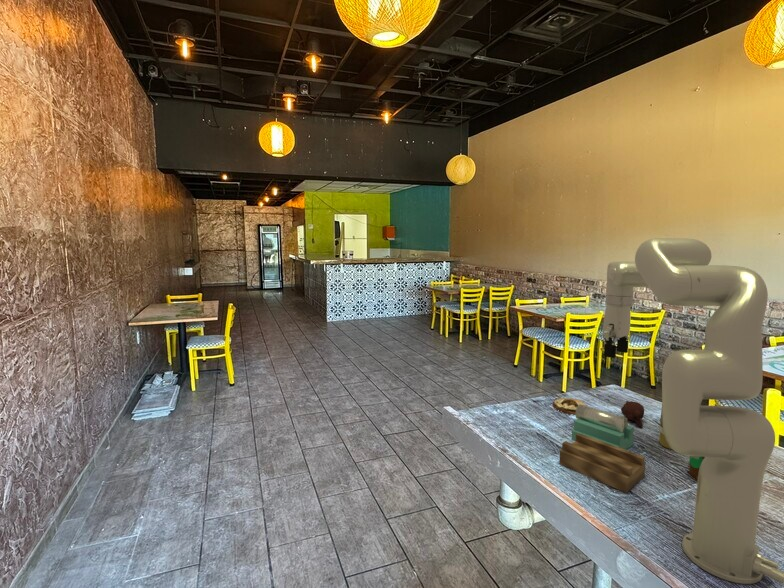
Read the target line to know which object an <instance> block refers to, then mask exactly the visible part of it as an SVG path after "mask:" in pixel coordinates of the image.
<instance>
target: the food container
mask: <svg viewBox="0 0 784 588" xmlns="http://www.w3.org/2000/svg"><path fill="white" fill-rule="evenodd" d="M704 458H705V457H700V456H689V457H688V459H689V462H688V463H689V465H688V466H689V467H688V470H689V472H688V473H689V476H690V477H691V478H692V479H693V480H695V481H697V482H698V474H699V468H700V465H701V463H702V461H703V459H704Z"/></svg>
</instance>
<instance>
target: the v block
mask: <svg viewBox="0 0 784 588" xmlns="http://www.w3.org/2000/svg"><path fill="white" fill-rule="evenodd" d="M578 433H580V434H583V435H586V436H589V437H592V438H594V439H597V440H600V441H603V442H605V443H608V444H611V445H614V446H617V447H619V448H622V449H625V450H628V449H629V448H631V447H632V446H634V444H635V434H634V426H631V425H629V424H628V425H627V429H626V432H625V433H621V432H618V431H615V430H612V429H609V428H606V427H603V426H600V425H597V424H594V423H591V422H588V421H585V420H582V419H577V418H576V419H575V420H574V421H573V430H572V431H571V440H572V441H573V442H575V441H576V434H578Z"/></svg>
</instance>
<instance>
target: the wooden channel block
mask: <svg viewBox="0 0 784 588" xmlns="http://www.w3.org/2000/svg"><path fill="white" fill-rule="evenodd" d="M561 444H562V445H561V449H560V450H559V462H558V463H559V465H561V466H563V467H566V468H568V469H570V470H573V471H575V472H577V473H580V474H581V475H583V476H587V477H589V478H590V479H594V480H596V481H597V482H600V483H602V484H605V485H607V486H609V487H611V488H614V489H616V490H618V491H621V492H624V493H625V494H627V493H629V491H631V489H633V488H634V487H635V486H636V485H637V484H638V483H639V482H640V481H641V480H642V479H643V478H644V477H646V476H645V475H646V464H647V463H646V461H645V459H646V457H645V456H644V455H641V454H639V453H635V452H633V451H631V450H628V449H627V450H625V449H622V448H619V447H617V446H614V445H611V444H608V443H605V442H603V441H600V440H597V439H594V438H592V437H589V436H586V435H583V434H580V433H578V434H576V441H572V443H571V442H570V441H566V440H565V441H563V442H562V443H561Z"/></svg>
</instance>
